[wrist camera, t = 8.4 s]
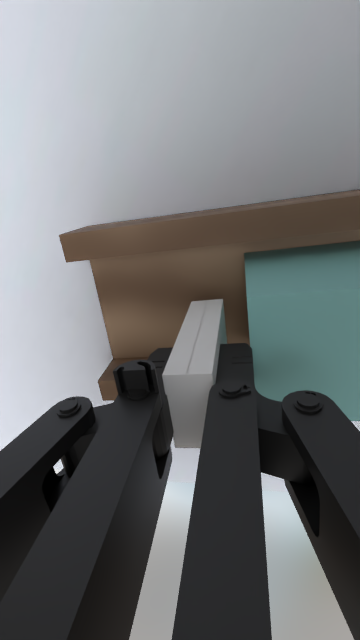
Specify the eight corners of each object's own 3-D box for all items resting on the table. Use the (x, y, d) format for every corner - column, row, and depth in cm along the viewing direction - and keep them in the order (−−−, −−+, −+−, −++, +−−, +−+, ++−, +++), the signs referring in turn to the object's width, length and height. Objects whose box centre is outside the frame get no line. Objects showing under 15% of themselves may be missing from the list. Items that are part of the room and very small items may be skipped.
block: (244, 253, 18) (246, 297, 11) (373, 239, 17) (463, 280, 10) (250, 339, 20) (255, 421, 13) (366, 332, 19) (438, 420, 12)
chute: (87, 226, 20) (59, 234, 17) (403, 183, 17) (441, 184, 13) (121, 370, 24) (102, 400, 21) (386, 360, 20) (413, 394, 17)
